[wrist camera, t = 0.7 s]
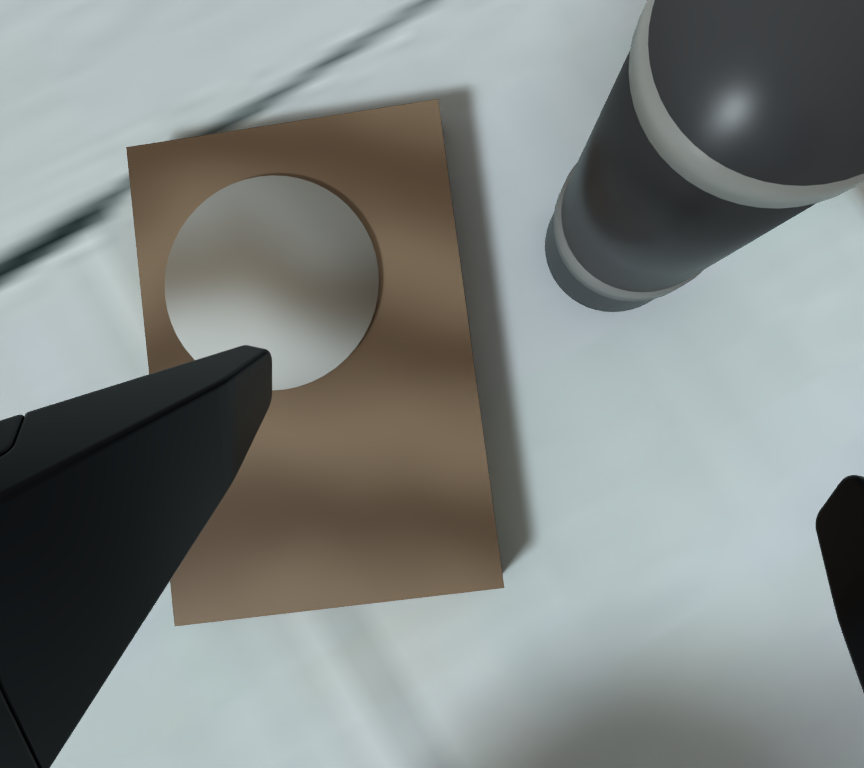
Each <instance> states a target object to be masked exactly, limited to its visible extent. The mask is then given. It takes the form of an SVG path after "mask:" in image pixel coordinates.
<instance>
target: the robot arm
mask: <svg viewBox="0 0 864 768" xmlns="http://www.w3.org/2000/svg"><path fill="white" fill-rule="evenodd" d="M271 399H272V357H271V353H270V352H269V351H268V350H267V349H263V348H258V347H254V346H249V345H242V346H239V347H236V348H233V349H230V350H226V351H223V352H220V353H217V354H213V355H210V356H207V357H204V358H201V359H197V360H194V361H191V362H188V363H184V364H181V365H178V366H175V367H172V368H168V369H165V370H162V371H159V372H156V373H152V374H149V375H146V376H143V377H139V378H136V379H133V380H130V381H127V382H123V383H120V384H117V385H114V386H110V387H107V388H104V389H101V390H98V391H94V392H91V393H88V394H85V395H82V396H78V397H75V398H72V399H69V400H65V401H62V402H59V403H56V404H53V405H49V406H46V407H43V408H40V409H37V410H33V411H30V412H27V413H26V414H25V417H24V416H23V415H17V416H13V417H10V418H7V419H4V420H1V421H0V768H50V766H51V765H52V763H53V762H54V760H55V759H56V757H57V756H58V754H59V752H60V751H61V749H62V748H63V746H64V745H65V743H66V742H67V740H68V738H69V737H70V735H71V734H72V732H73V731H74V729H75V728H76V726H77V724H78V723H79V721H80V720H81V718H82V717H83V715H84V714H85V712H86V710H87V709H88V707H89V706H90V704H91V703H92V701H93V699H94V698H95V696H96V695H97V693H98V692H99V690H100V689H101V687H102V685H103V684H104V682H105V681H106V679H107V678H108V676H109V675H110V673H111V671H112V670H113V668H114V667H115V665H116V664H117V662H118V661H119V659H120V657H121V656H122V654H123V653H124V651H125V650H126V648H127V647H128V645H129V643H130V642H131V640H132V639H133V637H134V636H135V634H136V633H137V631H138V629H139V628H140V626H141V625H142V623H143V622H144V620H145V619H146V617H147V615H148V614H149V612H150V611H151V609H152V608H153V606H154V605H155V603H156V601H157V600H158V598H159V597H160V595H161V594H162V592H163V591H164V589H165V587H166V586H167V584H168V583H169V581H170V580H171V578H172V576H173V575H174V573H175V572H176V570H177V569H178V567H179V566H180V564H181V562H182V561H183V559H184V558H185V556H186V555H187V553H188V552H189V550H190V548H191V547H192V545H193V544H194V542H195V541H196V539H197V538H198V536H199V534H200V533H201V531H202V530H203V528H204V527H205V525H206V524H207V522H208V520H209V519H210V517H211V516H212V514H213V513H214V511H215V510H216V508H217V506H218V505H219V503H220V502H221V500H222V499H223V497H224V496H225V494H226V492H227V491H228V489H229V487H230V486H231V484H232V482H233V481H234V479H235V477H236V475H237V473H238V471H239V469H240V467H241V465H242V463H243V461H244V459H245V457H246V454H247V452H248V450H249V448H250V446H251V444H252V442H253V440H254V438H255V436H256V434H257V432H258V429H259V427H260V425H261V423H262V421H263V419H264V417H265V415H266V413H267V411H268V409H269V406H270V403H271ZM816 532H817V536H818V540H819V544H820V548H821V552H822V557H823V561H824V565H825V569H826V573H827V577H828V582H829V586H830V590H831V594H832V598H833V602H834V606H835V610H836V614H837V617H838V621H839V624H840V627H841V630H842V633H843V636H844V639H845V642H846V645H847V648H848V650H849V653H850V656H851V659H852V662H853V664H854V667H855V670H856V673H857V676H858V678H859V681H860V684H861V687H862V689H863V692H864V477H862V476H857V475H851V476H847V477H846V478H844V479H843V480H842V481H841V482H840V483H839V485H838V486H837V488H836V489H835V490H834V492H833V493H832V494H831V496H830V497H829V499H828V500H827V501H826V503H825V504H824V506H823V507H822V508H821V510H820V511H819V513H818V515H817V518H816Z"/></svg>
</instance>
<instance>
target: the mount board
mask: <svg viewBox="0 0 864 768" xmlns="http://www.w3.org/2000/svg"><path fill="white" fill-rule="evenodd" d="M126 148H127V158H128V168H129V178H130V188H131V198H132V207H133V217H134V227H135V237H136V247H137V257H138V267H139V277H140V287H141V297H142V306H143V316H144V326H145V336H146V346H147V356H148V366H149V374H152V373H156V372H159V371H162V370H165V369H168V368H172V367H175V366H178V365H181V364H184V363H188V362H191V361H194V360H197V359H201V358H204V357H207V356H210V355H213V354H217V353H220V352H223V351H226V350H230V349H233V348H236V347H239V346H242V345H249V346H254V347H258V348H263V349H267V350H268V351H269V352H270V353H271V357H272V399H271V403H270V406H269V409H268V411H267V413H266V415H265V417H264V419H263V421H262V423H261V425H260V427H259V429H258V432H257V434H256V436H255V438H254V440H253V442H252V444H251V446H250V448H249V450H248V452H247V454H246V457H245V459H244V461H243V463H242V465H241V467H240V469H239V471H238V473H237V475H236V477H235V479H234V481H233V482H232V484H231V486H230V487H229V489H228V491H227V492H226V494H225V496H224V497H223V499H222V500H221V502H220V503H219V505H218V506H217V508H216V510H215V511H214V513H213V514H212V516H211V517H210V519H209V520H208V522H207V524H206V525H205V527H204V528H203V530H202V531H201V533H200V534H199V536H198V538H197V539H196V541H195V542H194V544H193V545H192V547H191V548H190V550H189V552H188V553H187V555H186V556H185V558H184V559H183V561H182V562H181V564H180V566H179V567H178V569H177V570H176V572H175V573H174V575H173V576H172V578H171V580H170V584H171V594H172V604H173V614H174V623H175V626H181V625H190V624H198V623H207V622H216V621H224V620H233V619H241V618H250V617H258V616H267V615H275V614H284V613H293V612H301V611H310V610H318V609H327V608H335V607H344V606H352V605H361V604H370V603H378V602H387V601H395V600H404V599H412V598H421V597H429V596H438V595H447V594H455V593H464V592H472V591H481V590H489V589H498V588H504V583H503V575H502V568H501V561H500V553H499V546H498V538H497V531H496V524H495V516H494V509H493V501H492V494H491V487H490V479H489V472H488V465H487V457H486V450H485V442H484V435H483V428H482V420H481V413H480V405H479V398H478V391H477V383H476V376H475V368H474V361H473V354H472V346H471V339H470V331H469V324H468V317H467V309H466V302H465V294H464V287H463V280H462V272H461V265H460V257H459V250H458V243H457V235H456V228H455V221H454V213H453V206H452V198H451V191H450V184H449V176H448V169H447V161H446V154H445V147H444V139H443V132H442V124H441V117H440V110H439V102H438V99H436V100H429V101H423V102H416V103H410V104H403V105H397V106H390V107H384V108H378V109H371V110H365V111H358V112H352V113H345V114H339V115H332V116H326V117H319V118H313V119H306V120H300V121H293V122H287V123H281V124H274V125H268V126H261V127H255V128H248V129H242V130H235V131H229V132H222V133H216V134H209V135H203V136H197V137H190V138H184V139H177V140H171V141H164V142H158V143H151V144H145V145H138V146H132V147H126Z"/></svg>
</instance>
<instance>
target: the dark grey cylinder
mask: <svg viewBox="0 0 864 768" xmlns="http://www.w3.org/2000/svg"><path fill="white" fill-rule="evenodd" d="M863 182H864V0H647V3H646V5H645V7H644V9H643V11H642V14H641V16H640V18H639V20H638V23H637V26H636V29H635V32H634V35H633V39H632V44H631V50H630V52H629V54H628V56H627V58H626V60H625V62H624V64H623V67H622V69H621V71H620V73H619V75H618V77H617V79H616V82H615V84H614V86H613V88H612V90H611V92H610V94H609V96H608V99H607V101H606V103H605V105H604V107H603V109H602V111H601V114H600V116H599V118H598V120H597V122H596V124H595V126H594V128H593V131H592V133H591V135H590V137H589V139H588V141H587V143H586V146H585V148H584V150H583V152H582V154H581V156H580V158H579V160H578V162H577V164H576V165H575V166H574V167H573V169H572V170H571V172H570V173H569V175H568V177H567V179H566V181H565V183H564V185H563V188H562V190H561V192H560V194H559V197H558V200H557V203H556V206H555V211H554V214H553V216H552V218H551V220H550V223H549V226H548V229H547V233H546V239H545V252H546V259H547V263H548V266H549V269H550V272H551V274H552V276H553V278H554V279H555V281H556V282H557V284H558V285H559V287H560V288H561V289H562V290H563V291H564V292H565V293H566V294H567V295H568V296H570V297H571V298H572V299H574V300H575V301H577V302H578V303H580V304H582V305H584V306H586V307H589V308H592V309H595V310H600V311H606V312H619V311H626V310H631V309H634V308H637V307H640V306H642V305H644V304H646V303H648V302H650V301H651V300H653V299H655V298H658V297H661V296H664V295H666V294H668V293H670V292H672V291H674V290H676V289H678V288H679V287H681V286H683V285H685V284H686V283H688V282H689V281H691V280H692V279H694V278H695V277H696V276H697V275H699V274H700V273H701V272H702V271H703V270H704V269H706V268H707V267H709V266H711V265H712V264H714V263H716V262H718V261H719V260H721V259H723V258H724V257H726V256H728V255H729V254H731V253H733V252H735V251H736V250H738V249H740V248H741V247H743V246H745V245H746V244H748V243H750V242H751V241H753V240H755V239H757V238H758V237H760V236H762V235H763V234H765V233H767V232H768V231H770V230H772V229H774V228H775V227H777V226H779V225H780V224H782V223H784V222H785V221H787V220H789V219H791V218H792V217H794V216H796V215H797V214H799V213H801V212H802V211H804V210H806V209H807V208H809V207H811V206H813V205H814V204H816V203H819V202H821V201H824V200H827V199H830V198H833V197H836V196H838V195H840V194H842V193H844V192H846V191H848V190H850V189H852V188H854V187H856V186H857V185H859V184H861V183H863Z"/></svg>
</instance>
